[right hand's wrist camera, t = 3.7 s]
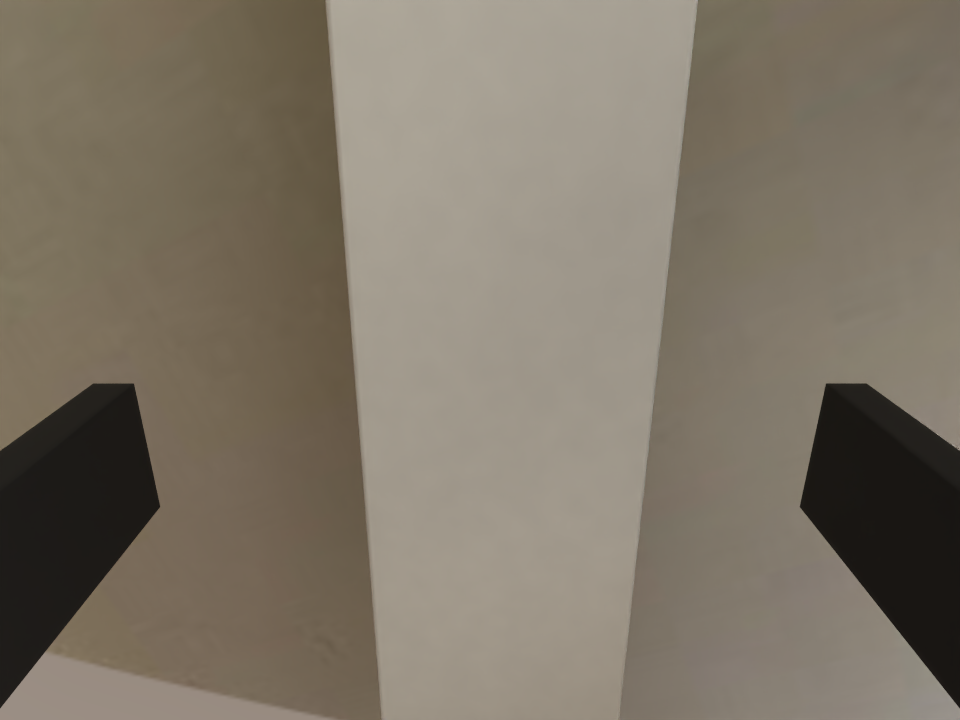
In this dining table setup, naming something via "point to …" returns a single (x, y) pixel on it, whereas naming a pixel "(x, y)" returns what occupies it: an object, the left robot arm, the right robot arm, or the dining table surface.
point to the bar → (506, 333)
